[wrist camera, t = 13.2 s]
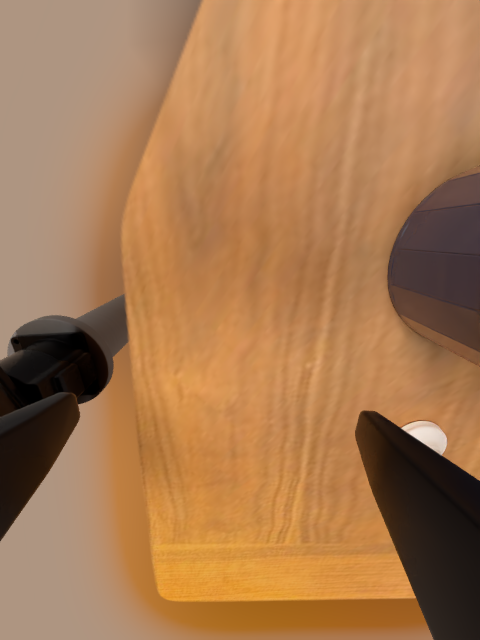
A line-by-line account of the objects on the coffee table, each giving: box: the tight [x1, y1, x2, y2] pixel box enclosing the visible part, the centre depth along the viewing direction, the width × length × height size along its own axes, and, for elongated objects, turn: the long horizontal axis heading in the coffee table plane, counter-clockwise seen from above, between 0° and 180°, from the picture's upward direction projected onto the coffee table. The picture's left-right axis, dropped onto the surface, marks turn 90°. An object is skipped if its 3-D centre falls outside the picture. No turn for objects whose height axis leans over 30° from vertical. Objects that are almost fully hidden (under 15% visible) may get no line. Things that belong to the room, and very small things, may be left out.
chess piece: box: [401, 421, 447, 455], centre depth 19 cm, size 5×5×10 cm
